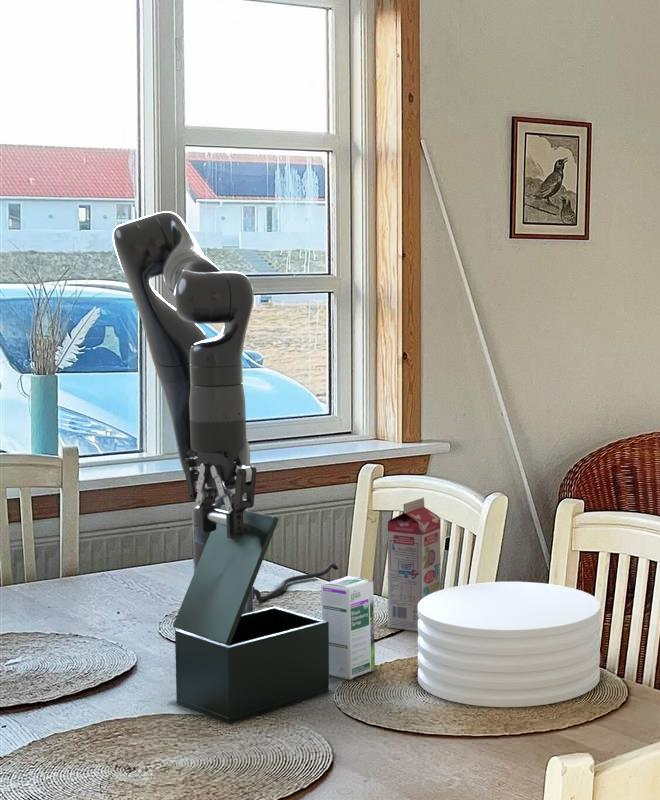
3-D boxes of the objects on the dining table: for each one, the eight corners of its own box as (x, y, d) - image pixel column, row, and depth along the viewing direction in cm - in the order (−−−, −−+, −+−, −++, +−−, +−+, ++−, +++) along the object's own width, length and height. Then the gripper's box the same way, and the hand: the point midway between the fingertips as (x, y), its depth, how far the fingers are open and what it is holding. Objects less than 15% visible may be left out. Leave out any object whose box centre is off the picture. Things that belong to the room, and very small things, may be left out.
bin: (276, 674, 208) (275, 606, 207) (329, 692, 201) (328, 621, 199) (176, 703, 195) (174, 630, 194) (229, 723, 187) (227, 647, 186)
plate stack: (623, 661, 218) (624, 591, 216) (561, 717, 191) (562, 638, 190) (464, 642, 227) (465, 575, 226) (385, 693, 201) (384, 617, 199)
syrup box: (350, 680, 206) (349, 587, 205) (321, 673, 209) (320, 581, 208) (375, 670, 211) (375, 579, 209) (347, 664, 214) (346, 574, 212)
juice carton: (387, 627, 235) (387, 502, 233) (407, 617, 241) (407, 495, 239) (421, 631, 233) (421, 505, 230) (440, 621, 239) (440, 499, 236)
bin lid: (225, 506, 199) (197, 494, 195) (279, 518, 191) (251, 506, 187) (176, 628, 194) (147, 618, 190) (229, 645, 186) (200, 635, 182)
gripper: (272, 417, 187) (275, 537, 189) (209, 408, 196) (213, 522, 198) (226, 424, 181) (230, 547, 184) (164, 414, 190) (168, 531, 193)
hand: (221, 533), depth 191 cm, fingers closed on bin lid, 5 cm apart
